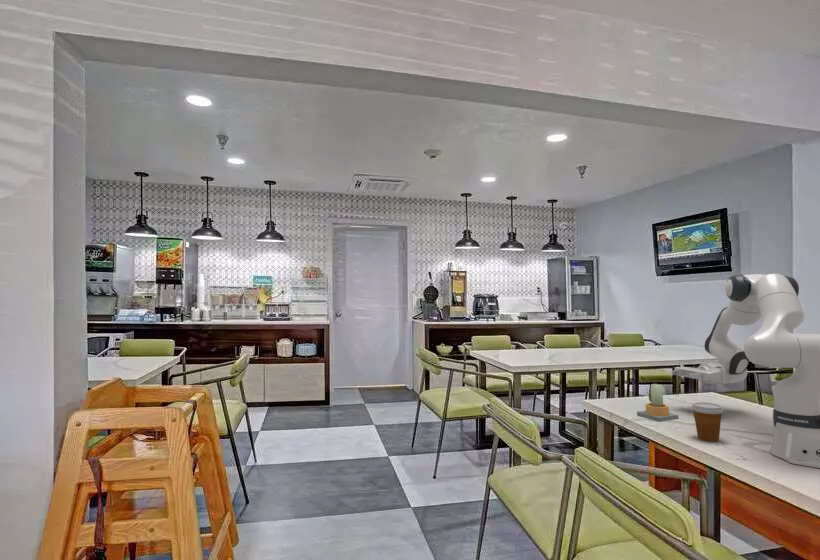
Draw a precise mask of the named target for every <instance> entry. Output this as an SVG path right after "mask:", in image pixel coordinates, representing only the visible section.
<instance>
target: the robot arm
mask: <svg viewBox="0 0 820 560" xmlns="http://www.w3.org/2000/svg"><path fill="white" fill-rule="evenodd" d="M725 292H726V296H727V298H728V299H729V300H730V301H729V304H728V306H726V307H724V308H722V310H721V311H720V312H719V314H718V316H717V318H716V320H715V321H714V324H713V327H712V330H711V331H710V334H709V335H708V337H707V338H706V339H705V341H704V349H705V352H706V353H708V354H709V355H711V356H713V357H714V358H715V359H717V360H718V362H705V363H701V364H700V365H699V366H698V368H697V367H692V366H676V367H674V369H673V370H671V375H672V376H679V377H684V378H689V379H694V380H700V381H701V382H703V384H706V385H710V384H711V385H712V384H715V385H716V384H721V385H725V384H734V383H739V382H742V381H744V380H745V379H746V378H747V377H748V369H747V368H748V366H749V365H750V364H749V363H750V362H751V363H752V364H754V365H758V366H762V367H769V368H786V369H787V368H789V369H790V368H793V369H794V371H793V373H792V374H791V375H789V376H788V377H786V378H783V379H781V380H779V381H777V382H776V383H775V385H774V387H773V399H774V400H773V401H774V408H773V409H772V423H773V426H774V435H773V441H772V444H771V448H770V453H771V455H773V456H775V457H777V458H780V459H783V460H785V461H786V462H788V463H791V464H794V465H799V466H804V467H810V468H817V469H820V333H797V332H796V333H793V332H790V331H793V330H794V329H796V328H798V327H799V326H801V325H802V323H803V322H804V320H805V314H804V311H803V308H802V305H801V303H800V299H799V293H800V288H799V283H798V281H797V280H796V279H795V278H794V277H792V276H786V275H783V274H780V273H768V274H763V273H755V274H754V273H751V274H750V273H749V274H741V273H740V274H733V275H731V276H730V277H729V278H727V280H726V283H725ZM760 320H761V324H760V326H759V328H758V330H757V331H756V332H754V333H753V334H751V335H749V337H748V338H746V340H745V342H744V346H743V348H742V347H740V346H739V345H738V344H736V343H735V342H733V341H732V340H731V339H730V338H729V337H728V333H729V330H730V329H731V327H732V324H733V325H736V326H750V325H754V324H755V323H758V322H759V321H760Z"/></svg>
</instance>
